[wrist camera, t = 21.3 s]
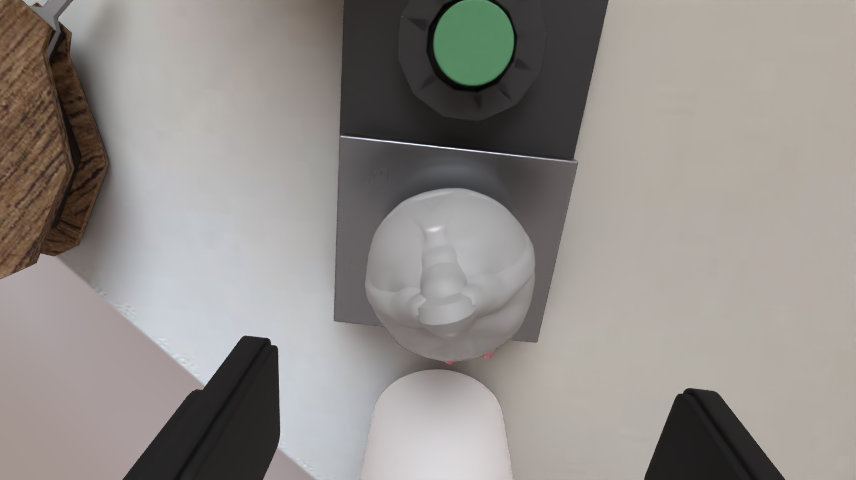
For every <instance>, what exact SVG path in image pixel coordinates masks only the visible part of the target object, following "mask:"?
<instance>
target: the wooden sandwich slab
mask: <svg viewBox="0 0 856 480" xmlns="http://www.w3.org/2000/svg"><path fill="white" fill-rule="evenodd" d="M72 1H73V0H48V1H47V3H46V4H45V5H44V6H43V7H42V6H41V5H40V4H39V3H35V4H34V5H33V6H28V5H27V4H26V3H25V2H24V1H22V0H1V1H0V279H2V278H4V277H7V276H9V275H11V274H13V273H15V272H18V271H20V270H22V269H24V268H27V267H29V266H31V265H33V264H35V263H37V260H38V258H39V255H40V253H42V254H46V255H50V256H56V255H58V254H60V253H62V252H65V251H67V250H69V249H71V248H73V247H76V246H78V245H79V244H80V241H81V238H82V235H83V233H84V230H85V227H86V224H87V222H88V219H89V216H90V213H91V211H92V208H93V205H94V202H95V200H96V197H97V194H98V191H99V189H100V186H101V183H102V180H103V178H104V175H105V172H106V169H107V166H108V164H109V161H108V157H107V154H106V152H105V149H104V146H103V143H102V140H101V137H100V135H99V132H98V129H97V126H96V123H95V121H94V120H93V117H92V115H91V112H90V109H89V107H88V104H87V101H86V99H85V96H84V93H83V91H82V88H81V85H80V82H79V80H78V77H77V74H76V72H75V69H74V66H73V64H72V61H71V58H70V55H69V54H70V45H71V36H72V33H71V32H70V31H69V30H68V29H67V28H66V27H65V26H64V25H62V24H61V23H60V22H59V21H58V17H59V16H60V15H61V14H62V13H63V11H64V10H65V9H66V8H67V7H68V6H69V4H70V3H71V2H72Z"/></svg>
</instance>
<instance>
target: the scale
mask: <svg viewBox="0 0 856 480" xmlns="http://www.w3.org/2000/svg"><path fill="white" fill-rule="evenodd" d="M461 1H463V0H344V15H343V46H342V77H341V109H340V135H342V134H343V133H351V134H360V135H370V136H379V137H388V138H397V139H406V140H415V141H424V142H433V143H442V144H451V145H460V146H469V147H479V148H488V149H497V150H506V151H515V152H524V153H533V154H542V155H551V156H560V157H569V158H574V153H575V149H576V144H577V140H578V135H579V131H580V126H581V122H582V117H583V113H584V108H585V104H586V99H587V95H588V90H589V86H590V81H591V77H592V72H593V68H594V63H595V59H596V54H597V50H598V45H599V41H600V36H601V32H602V27H603V23H604V18H605V14H606V9H607V5H608V0H487V1H490V2H492V3H494V4H495V5H497V6H498V7H499V8H500V9H501V10H503V12H504V13H505V14H506V15H507V17H508V19H509V21H510V23H511V25H512V29H513V34H514V48H513V53H512V56H511V59H510V61H509V63H508V65H507V66H506V68H505V69H504V71H503V72H502V73H501V74H500V75H499V76H498V77H496V78H495V79H494V80H492V81H490V82H488V83H486V84H483V85H479V86H466V85H462V84H459V83H457V82H454V81H453V80H451V79H450V78H449V77H447V76H446V75H445V74H444V72H443V71H442V70H441V68H440V67H439V65H438V63H437V61H436V58H435V54H434V47H433V41H434V33H435V30H436V27H437V25H438V22H439V21H440V19H441V17H442V16H443V15H444V13H445V12H446V11H447V10H448V9H449V8H451V7H452V6H453V5H455V4H456V3H458V2H461ZM339 142H340V140H339ZM338 173H339V171H338ZM337 205H338V202H337ZM336 236H337V234H336ZM335 267H336V265H335ZM334 298H335V296H334Z"/></svg>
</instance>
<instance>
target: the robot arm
mask: <svg viewBox="0 0 856 480" xmlns="http://www.w3.org/2000/svg"><path fill="white" fill-rule="evenodd" d="M279 438H280V409H279V371H278V348H277V346H275V345H271V342H270V339H268V338H261V337H253V336H243V337H242V338H241V339H240V341H239V342H238V343H237V345H236V346H235V347H234V349H233V350H232V351H231V353H230V354H229V355H228V357H227V358H226V359H225V361H224V362H223V363H222V365H221V366H220V367H219V369H218V370H217V371H216V373H215V374H214V375H213V377H212V378H211V379H210V381H209V382H208V383H207V385H206V386H205V387H204V389H203V390H197V389H196V390H194V391H192V392H191V393H190V394H189V395H188V396H187V397H186V399H185V400H184V401H183V403H182V404H181V405H180V407H179V408H178V409H177V410H176V412H175V413H174V414H173V415H172V417H171V418H170V419H169V421H168V422H167V423H166V425H165V426H164V427H163V428H162V430H161V431H160V432H159V433H158V435H157V436H156V437H155V439H154V440H153V441H152V442H151V444H150V445H149V446H148V448H147V449H146V450H145V451H144V453H143V454H142V455H141V457H140V458H139V459H138V460H137V462H136V463H135V464H134V466H133V467H132V468H131V469H130V471H129V472H128V473H127V475H126V476H125V477H124V478H123V480H263V478H264V476H265V473H266V471H267V469H268V467H269V465H270V463H271V460H272V458H273V456H274V454H275V451H276V449H277V446H278V443H279ZM644 480H785V479H784V477H783V476H782V475H781V474H780V472H779V471H778V470H777V468H776V467H775V466H774V465H773V463H772V462H771V461H770V459H769V458H768V457H767V456H766V454H765V453H764V452H763V450H762V449H761V448H760V447H759V445H758V444H757V443H756V441H755V440H754V439H753V437H752V436H751V435H750V434H749V432H748V431H747V430H746V428H745V427H744V426H743V425H742V423H741V422H740V421H739V419H738V418H737V417H736V416H735V414H734V413H733V412H732V410H731V409H730V408H729V407H728V405H727V404H726V403H725V401H724V400H723V399H722V398H721V396H720V395H719V394H718V393H717V392H714V391H709V390H701V389H692V388H688V389H686V390H685V391H684V392H683V394H678V395H677V396H676V398H675V400H674V403H673V405H672V408H671V411H670V413H669V416H668V418H667V421H666V423H665V426H664V428H663V431H662V434H661V436H660V439H659V441H658V444H657V446H656V449H655V452H654V454H653V457H652V459H651V462H650V464H649V467H648V470H647V472H646V475H645V478H644Z"/></svg>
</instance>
